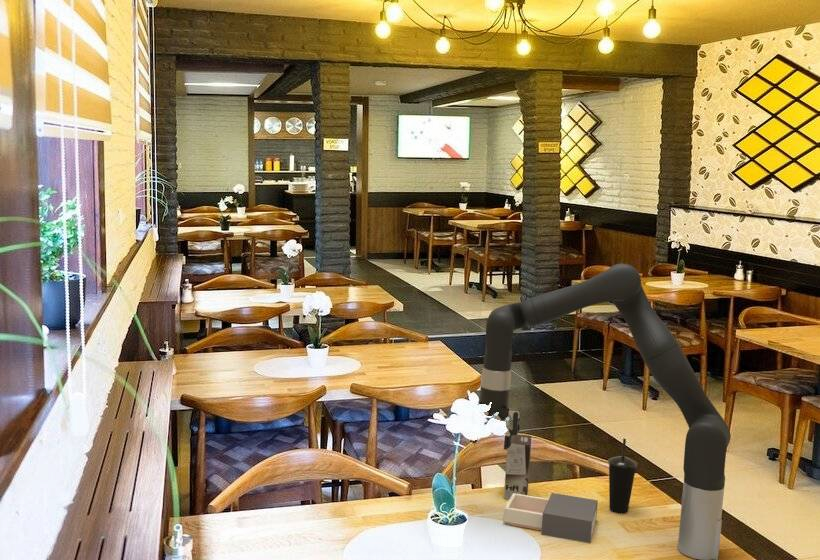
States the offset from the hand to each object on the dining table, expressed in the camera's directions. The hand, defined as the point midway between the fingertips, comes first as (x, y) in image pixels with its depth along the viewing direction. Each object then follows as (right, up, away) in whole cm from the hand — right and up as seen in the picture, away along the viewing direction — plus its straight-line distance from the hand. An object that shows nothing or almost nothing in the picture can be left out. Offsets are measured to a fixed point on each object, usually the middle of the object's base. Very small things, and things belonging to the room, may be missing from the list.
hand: (490, 445), depth 212 cm
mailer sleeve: (+20, -20, -3) cm, 29 cm away
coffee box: (+9, -17, +17) cm, 26 cm away
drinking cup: (+36, -20, +9) cm, 42 cm away
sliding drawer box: (+15, -20, -2) cm, 25 cm away
